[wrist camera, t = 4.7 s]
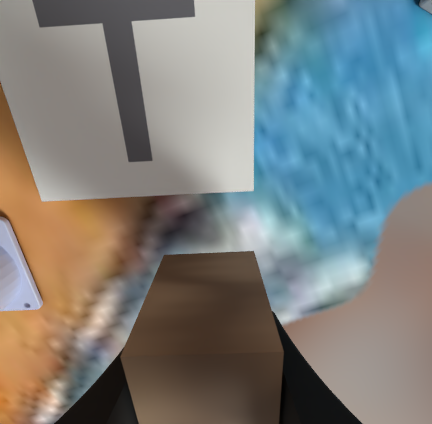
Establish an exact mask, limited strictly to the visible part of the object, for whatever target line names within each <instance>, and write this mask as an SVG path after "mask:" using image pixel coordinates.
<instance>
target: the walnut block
mask: <svg viewBox="0 0 432 424" xmlns="http://www.w3.org/2000/svg"><path fill="white" fill-rule="evenodd" d="M283 356H284V351H283V347H282V344H281V341H280V337H279V334H278V331H277V327H276V324H275V321H274V317H273V314H272V311H271V307H270V304H269V300H268V297H267V294H266V290H265V287H264V284H263V280H262V277H261V274H260V270H259V267H258V263H257V260H256V257H255V253H254V251H246V252H223V253H199V254H176V255H164V256H163V259H162V261H161V263H160V266H159V268H158V270H157V273H156V275H155V277H154V280H153V282H152V284H151V287H150V289H149V291H148V294H147V296H146V298H145V301H144V303H143V305H142V308H141V310H140V312H139V315H138V317H137V319H136V322H135V324H134V326H133V329H132V331H131V333H130V336H129V338H128V340H127V343H126V345H125V347H124V350H123V352H122V354H121V357H120V358H121V361H122V365H123V368H124V372H125V376H126V379H127V383H128V386H129V390H130V394H131V397H132V401H133V404H134V408H135V412H136V415H137V419H138V422H139V424H279V414H280V399H281V385H282V371H283Z"/></svg>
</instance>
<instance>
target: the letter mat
mask: <svg viewBox="0 0 432 424" xmlns="http://www.w3.org/2000/svg"><path fill="white" fill-rule="evenodd" d="M254 49H255V0H0V82H1V85H2V88H3V91H4V94H5V96H6V99H7V102H8V105H9V108H10V111H11V114H12V117H13V119H14V122H15V125H16V128H17V131H18V134H19V137H20V140H21V142H22V145H23V148H24V151H25V154H26V157H27V160H28V163H29V165H30V168H31V171H32V174H33V177H34V180H35V183H36V186H37V188H38V191H39V194H40V197H41V200H42V201H62V200H82V199H102V198H122V197H142V196H161V195H181V194H201V193H221V192H241V191H254Z"/></svg>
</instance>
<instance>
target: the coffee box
mask: <svg viewBox="0 0 432 424" xmlns="http://www.w3.org/2000/svg"><path fill="white" fill-rule="evenodd" d="M419 6H420V7H421V8H423V9H424V10H426V11H428V12H429V13H431V14H432V0H420V2H419Z"/></svg>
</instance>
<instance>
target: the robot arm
mask: <svg viewBox="0 0 432 424" xmlns="http://www.w3.org/2000/svg"><path fill="white" fill-rule="evenodd" d="M42 305H43V301H42V299H41V297H40V294H39V292H38V289H37V287H36V285H35V282H34V280H33V277H32V275H31V273H30V270H29V268H28V265H27V263H26V261H25V258H24V256H23V253H22V251H21V249H20V246H19V244H18V241H17V239H16V237H15V234H14V232H13V229H12V227H11V225H10V222H9V221H8V220H7V219H6V218H4V217H0V311H12V310H36V309H39V308H40V307H41V306H42ZM272 314H273V317H274V321H275V324H276V327H277V331H278V334H279V337H280V341H281V344H282V347H283V351H284V356H283V371H282V385H281V399H280V414H279V424H362V423H361V422H360V421H359V420H358V419H357V418H356V417H355V416H354V415H353V414H352V413H351V412H350V411H349V410H348V409H347V408H346V407H345V406H344V404H343V403H342V402H341V401H340V400H339V399H338V398H337V397H336V396H335V395H334V394H333V393H332V391H331V390H330V389H329V388H328V387H327V386H326V385H325V384H324V382H323V381H322V380H321V379H320V378H319V376H318V375H317V374H316V373H315V371H314V370H313V369H312V368H311V366H310V365H309V364H308V363H307V361H306V360H305V359H304V357H303V356H302V355H301V353H300V352H299V351H298V349H297V348H296V346H295V345H294V344H293V342H292V341H291V339H290V338H289V336H288V335H287V333H286V332H285V330H284V329H283V327H282V325H281V324H280V322H279V320H278V318H277V317H276V315H275V313H274V312H273V311H272ZM123 350H124V348H123V349H122V351H121V352H120V353H119V354H118V356H117V357H116V358H115V360H114V361H113V362H112V363H111V364H110V365H109V367H108V368H107V369H106V370H105V371H104V373H103V374H102V375H101V376H100V377H99V378H98V380H97V381H96V382H95V383H94V384H93V385H92V386H91V387H90V388H89V389H88V391H87V392H86V393H85V394H84V395H83V396H82V397H81V398H80V399H79V400H78V401H77V402H76V403H75V404H74V405H73V406H72V407H71V408H70V409H69V410H68V411H67V412H66V413H65V414H64V415H63V416H62V417H61V418H60V419H59V420H58V421H57V422H56V423H54V424H139V422H138V419H137V415H136V412H135V408H134V404H133V401H132V397H131V394H130V390H129V386H128V383H127V379H126V376H125V372H124V368H123V365H122V361H121V358H120V357H121V354H122V352H123Z"/></svg>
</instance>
